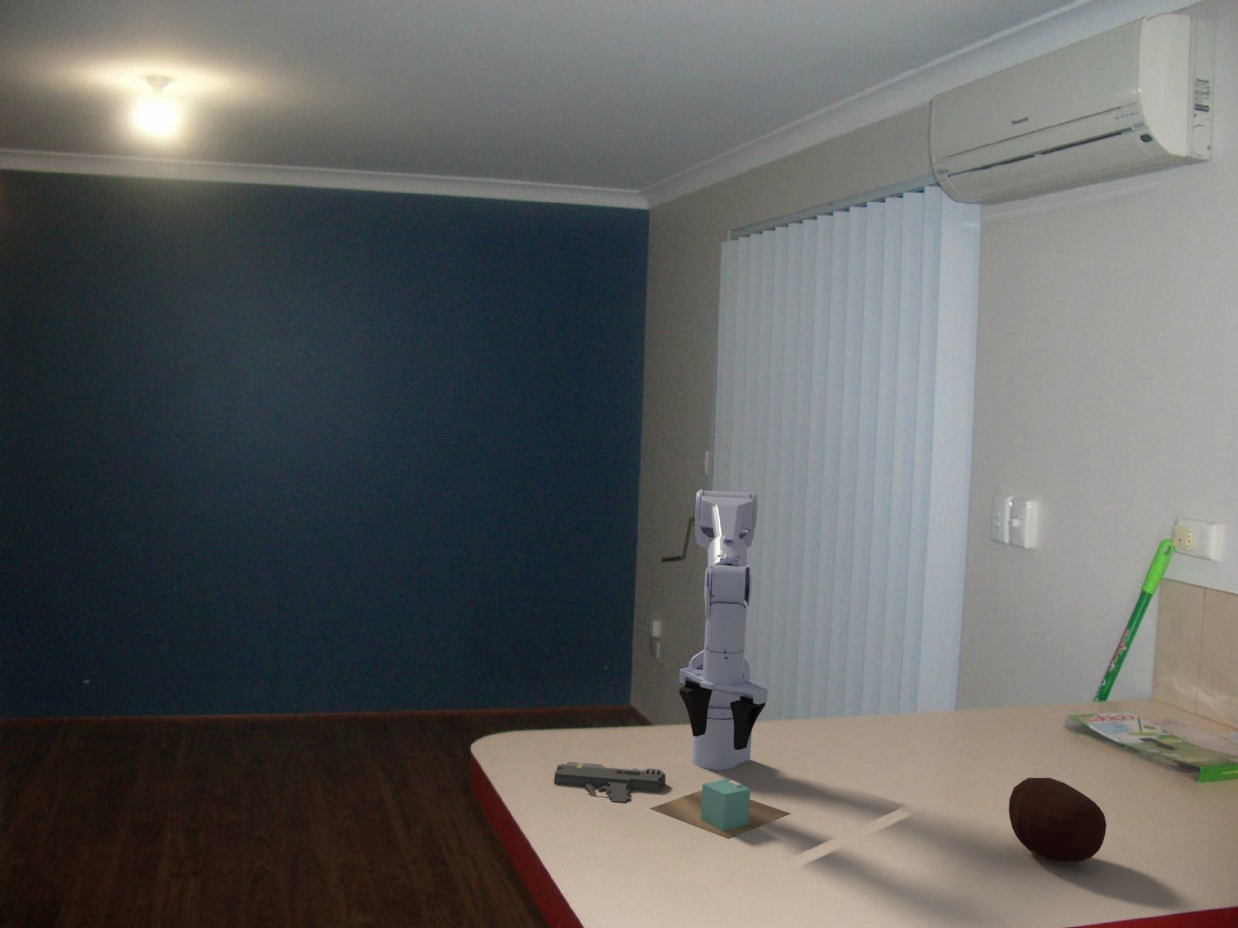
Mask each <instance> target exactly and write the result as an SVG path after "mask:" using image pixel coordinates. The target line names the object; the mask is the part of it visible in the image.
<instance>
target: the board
mask: <svg viewBox="0 0 1238 928" xmlns="http://www.w3.org/2000/svg"><path fill="white" fill-rule="evenodd" d="M701 805H702V789H701V790H699V791H695V792H693V793H691V794H690V793H689V794H687V795H684V796H682V797H678V798H676V799H672V800H669V801H667V802H664V803H661V804H659V805H658V804H657V805H655V806H652V807H650V808H649V810H651V811H654V812H657V813H660V814H662V815H664V816H667V817H671V818H673V819H674V820H678V821H681V822H683V823H686V824H688V825H690V826H694V827H696V828H698V829H701V830H704V831H706V832H709V833H712V834H715V835H717V836H719V837H723V838H725V839H728V840H730V839H731V838H733V837H737V836H739V835H741V834H743V833H747V832H749V831H751V830H754V829H757V828H758V827H762V826H764V825H767V824H769V823H771V822H773V821H776V820H779V819H781V818H784V817H785V816H789V815H791V814H792V813H791V812H788V811H785V810H783V809H780V808H776V807H773V806H770V805H768V804H765V803H762V802H759V801H757V800H753V799H751V798H750V805H749V823H748V825H745V826H741V827H737V828H733V829H729V830H725V831H722V830H720V829H718V828H716V827H714V826H712V825H710V824H708V823H706V822H704V821H702V820H701Z"/></svg>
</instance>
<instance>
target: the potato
mask: <svg viewBox="0 0 1238 928" xmlns="http://www.w3.org/2000/svg"><path fill="white" fill-rule="evenodd" d="M1008 803H1009V804H1008V814H1009V816H1008V817H1009V820H1010V825H1011V828H1012V830H1013V833H1014V835H1015V837H1016V838H1017V839H1018V841H1019V842H1020V843H1021V844H1022V845H1023V846H1024V847H1025V848H1026V849H1027V850H1028V851H1030V852H1032V853H1034V854H1036V855H1038V856H1039V857H1040V856H1041V857H1043V858H1045V859H1047V860H1051V861H1052V860H1053V861H1059V862H1073V863H1074V862H1075V863H1076V862H1082V861H1083V862H1084V861H1086V860H1089V859H1091V858H1093V857H1094V856H1095V855H1096V854H1097V853H1098V852H1099V851H1100V849H1101V848H1102V846H1103V843H1104V839H1105V837H1106V832H1107V821H1106V815H1105V813H1104V812H1103V810H1102V809H1101V807H1100V806H1099V805H1098V804H1097V803H1096V802H1095V801H1094V800H1092V799H1091V798H1090V797H1088V796H1087V795H1085V794H1084V793H1082V792H1081V791H1079V790H1077V789H1076V788H1074V787H1072V786H1071V785H1069V784H1068V783H1065V782H1064V781H1061V780H1057V779H1055V778H1052V777H1027V778H1025V779H1024V780H1022V781H1021V782H1019V783H1018V784H1016V786H1014V787H1013V790H1012V791H1011V795H1009V800H1008Z"/></svg>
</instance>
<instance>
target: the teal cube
mask: <svg viewBox="0 0 1238 928" xmlns="http://www.w3.org/2000/svg"><path fill="white" fill-rule="evenodd" d="M701 788H702V789H701V790H702V805H701V820H702V821H704V822H706V823H708V824H710V825H712V826H714V827H716V828H718V829H720V830H722V831H725V830H729V829H733V828H737V827H741V826H745V825H748V823H749V805H750V799H751V788H750V787H747V786H745V785H744V784H741V783H740V782H738V781H735V780H733V779H730V778H724V779H720V780H715V781H710V782H707V783H702V787H701Z"/></svg>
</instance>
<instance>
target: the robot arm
mask: <svg viewBox="0 0 1238 928" xmlns="http://www.w3.org/2000/svg"><path fill="white" fill-rule="evenodd" d="M695 496H696V497H695V511H694V512H695V515H694V525H695V530H694V533H695V535H694V537H695V538H696V541H695V542H696V544H697V545H699V546H701V547H702V548H704V549H705V550H706V552H707V567H706V569H705V572H704V573H705V574H704V589H703V590H704V593H703V594H704V595H703V599H704V607H705V610H704V611H705V612H704V613H705V614H704V615H705V618H706V619H705V625H704V627H705V628H704V629H705V630H704V646H703V647H704V648H703V649H702V651H701V650H700V652H698V653H697V654H695V655H694V656H692V657H691V658H690V661H688V667H684V668H679V676H678V677H679V678H678V679H679V681H678V683H681V684H683V686H681V687H680V688H679V691H678V694H679V695H680V697H681V699H682V701H683V703H684V705H685V708H686V711H687V714H688V718H689V722H690V727H691V732H692V739H691V741H692V743H691V763H692V764H693V765H695V766H697V767H699V768H703V769H707V770H716V771H717V770H718V771H720V770H721V771H722V770H724V771H725V770H730V769H733V768H736V767H737V766H738V765H739V764H742V763H745V762H748V761H751V749H752V734H753V733H752V731H753V728H754V726H755V723H756V721H757V720H758V717H759V716H760V714H761V713H762V711H763V709H764V708H765V707H766V703H768V691H769V689H768V688H766V687H762V686H759V685H758V684H756V683H754V682H752V681H751V674H750V668H751V666H750V665H749V661H747V659H746V658H745V646H746V645H745V644H746V626H747V610H748V609H747V607H749V606H750V602H751V597H752V587H753V586H752V583H753V581H752V579H753V578H752V577H753V576H752V570H751V565H750V564H749V563H748V554H747V549H748V548H751V547H752V542H753V541H754V539H755V537H754V536H755V529H756V527H757V521H758V520H757V516H758V495H757V494H756V493H755V492H754V491H750V492H742V491H741V492H740V491H719V490H718V491H717V490H704V489H702V488H701V489H699V490H698V491H697V492H696V494H695ZM745 603H746V604H745ZM746 605H747V606H746Z"/></svg>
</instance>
